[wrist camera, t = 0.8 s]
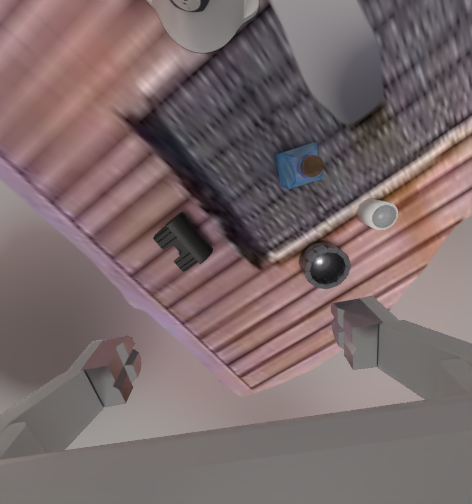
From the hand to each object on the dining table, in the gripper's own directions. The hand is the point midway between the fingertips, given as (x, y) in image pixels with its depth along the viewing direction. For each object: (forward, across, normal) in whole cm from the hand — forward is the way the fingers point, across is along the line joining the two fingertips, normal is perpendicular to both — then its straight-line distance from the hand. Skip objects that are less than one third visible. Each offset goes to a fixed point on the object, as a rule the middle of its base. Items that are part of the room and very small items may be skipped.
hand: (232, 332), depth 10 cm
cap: (+42, -28, +8) cm, 51 cm away
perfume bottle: (+42, -13, -4) cm, 44 cm away
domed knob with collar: (+42, -17, +17) cm, 48 cm away
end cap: (+42, +11, +6) cm, 44 cm away
